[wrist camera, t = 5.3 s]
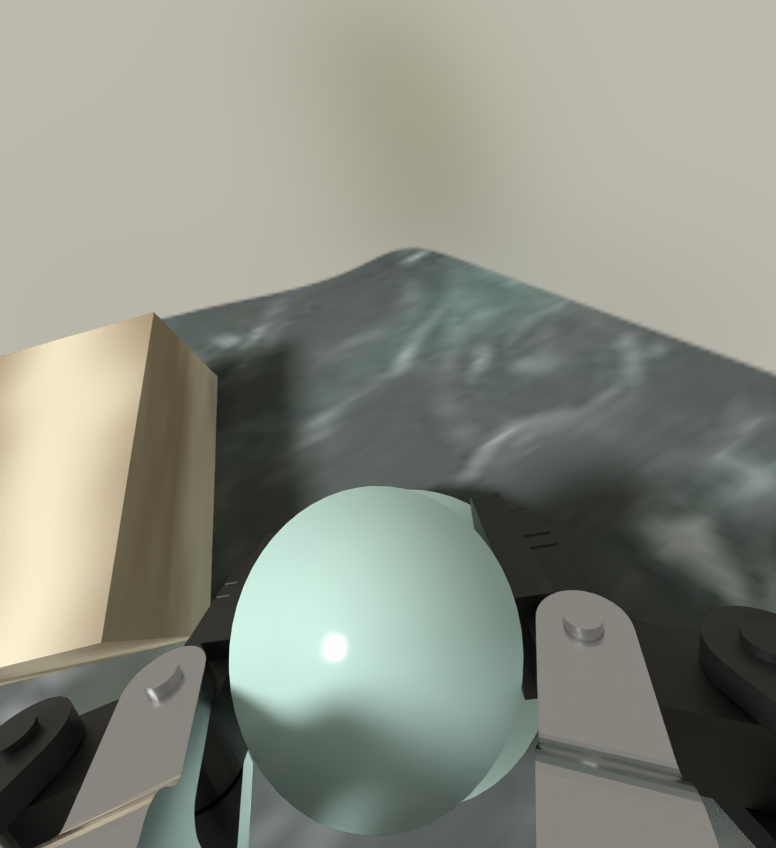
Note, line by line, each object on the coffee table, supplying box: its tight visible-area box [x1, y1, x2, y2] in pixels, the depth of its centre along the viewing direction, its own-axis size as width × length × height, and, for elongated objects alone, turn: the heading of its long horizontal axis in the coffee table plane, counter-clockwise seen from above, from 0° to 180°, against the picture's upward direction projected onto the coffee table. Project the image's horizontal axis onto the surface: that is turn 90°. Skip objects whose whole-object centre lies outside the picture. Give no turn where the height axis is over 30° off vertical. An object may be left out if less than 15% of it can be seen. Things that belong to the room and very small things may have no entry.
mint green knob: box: [229, 486, 538, 835], centre depth 9 cm, size 8×8×8 cm
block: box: [0, 312, 218, 685], centre depth 15 cm, size 12×12×5 cm
